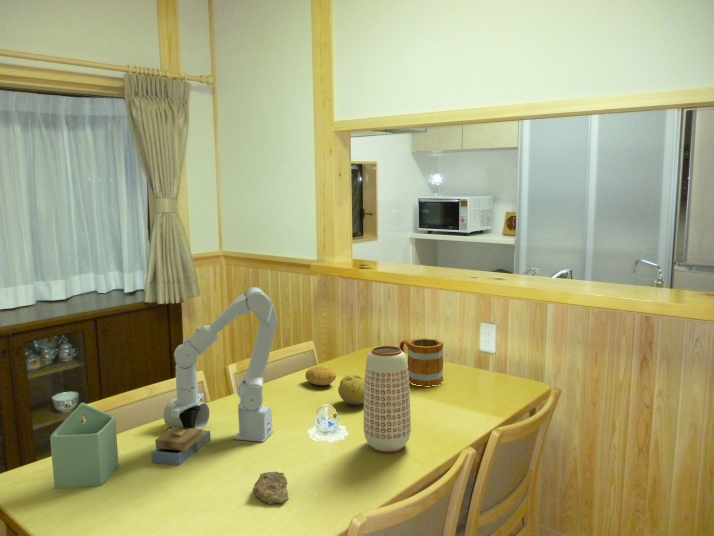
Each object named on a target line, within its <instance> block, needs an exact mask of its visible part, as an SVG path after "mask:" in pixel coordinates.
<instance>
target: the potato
mask: <svg viewBox="0 0 714 536" xmlns="http://www.w3.org/2000/svg"><path fill="white" fill-rule="evenodd" d="M305 379H306V380H307V381H308V382H309V383H310V384H313V385H316V386H321V387H322V386H327V385H330V384H332V383H333V382H335V380H336V379H337V374H336V372H335V371H333V370H332V369H331V368H330V367H328V366H325V365H324V366H319V365H318V366H312V367H310V368H309V369H307V371H306V372H305Z"/></svg>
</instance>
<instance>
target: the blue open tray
mask: <svg viewBox="0 0 714 536" xmlns="http://www.w3.org/2000/svg"><path fill="white" fill-rule="evenodd" d="M151 453H152V454H151V456H152V463H155V464H163V465H172V466H180V465H182V464H183V463H184V462H185V461H187V459H189V458H190V457H191V456H192V455H193V454H194V453H196V452H195V451H194V444H193V445H192V446H191V447H190V448H189V449H187V450H186V451H180V450H170V449H160V448H156V449H154V450H153V451H151Z"/></svg>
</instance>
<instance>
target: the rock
mask: <svg viewBox="0 0 714 536" xmlns="http://www.w3.org/2000/svg"><path fill="white" fill-rule="evenodd" d="M287 485H288V479H287V477H286V476H285V472H284V471H283V472H278V471H267V472H263V473H260V475H259V477H258V479H257V481H256V482H255V483H254V485H253V487H252V491H253V493H254V494H255V496H256V497H258V498H259V499H260V500H262V501H264V502H265V503H267V504H269V505H273V504H276V503H277V504H282V503H285V502H286V501H288V500H289V494H288V493H289V492H288V489H287V488H288V487H287Z"/></svg>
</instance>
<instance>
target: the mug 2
mask: <svg viewBox="0 0 714 536" xmlns="http://www.w3.org/2000/svg"><path fill="white" fill-rule="evenodd" d="M404 345H406V347H407V365H408V375H409V381H410V382H411V383H413V384H416V385H422V386H432V385H439V384H440V383H441V382H442V381H443V382H444V376H443V374H444V373H443V369H444V356H443V355H444V354H443V352H444V351H443V350H444V342H443V341H442V340H441V341H440V340H438V339H435V338H434V339H433V338H414V339H411V340H409V341H408V340H406V339H405V340H402V341H400V343H399V348H400V349H401V351H403V352H404V353H405V348H404V347H405V346H404Z"/></svg>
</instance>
